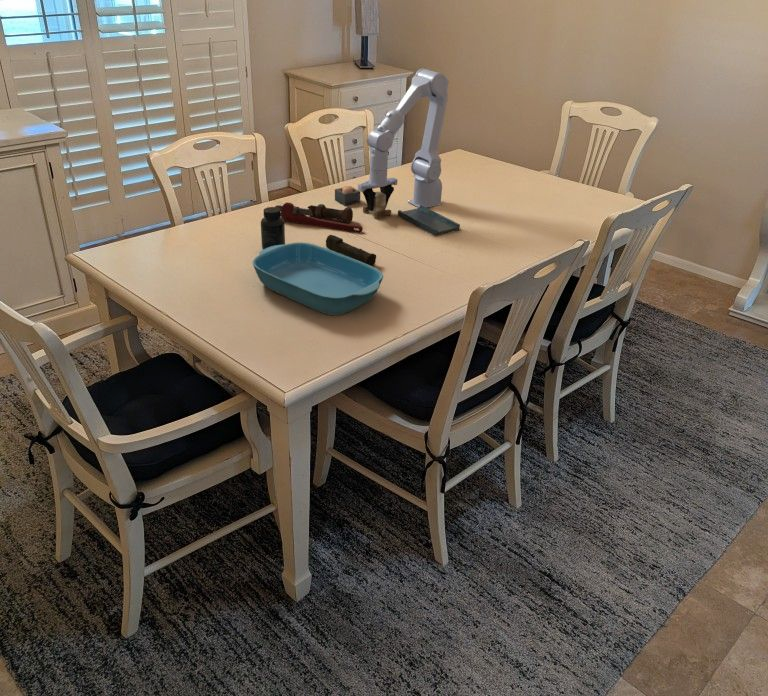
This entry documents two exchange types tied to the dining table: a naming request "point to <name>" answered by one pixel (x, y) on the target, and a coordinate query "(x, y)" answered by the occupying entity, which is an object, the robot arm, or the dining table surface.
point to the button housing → (347, 197)
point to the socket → (378, 213)
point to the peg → (378, 203)
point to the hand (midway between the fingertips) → (377, 208)
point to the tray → (429, 221)
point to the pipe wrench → (312, 219)
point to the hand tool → (349, 250)
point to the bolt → (332, 213)
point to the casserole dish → (317, 277)
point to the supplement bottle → (272, 228)
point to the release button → (347, 189)
